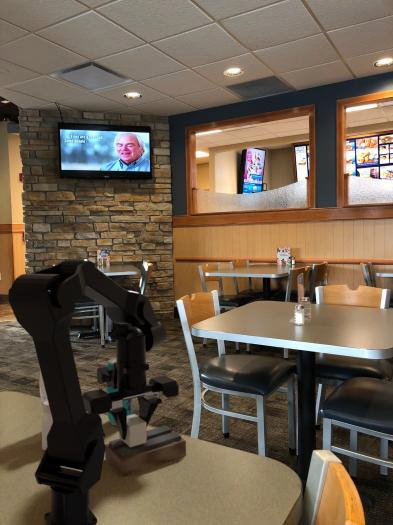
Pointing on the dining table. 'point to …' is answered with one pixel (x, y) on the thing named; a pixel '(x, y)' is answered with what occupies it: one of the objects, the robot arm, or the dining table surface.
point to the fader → (135, 431)
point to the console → (145, 451)
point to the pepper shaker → (46, 423)
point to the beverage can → (126, 403)
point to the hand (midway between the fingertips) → (132, 436)
